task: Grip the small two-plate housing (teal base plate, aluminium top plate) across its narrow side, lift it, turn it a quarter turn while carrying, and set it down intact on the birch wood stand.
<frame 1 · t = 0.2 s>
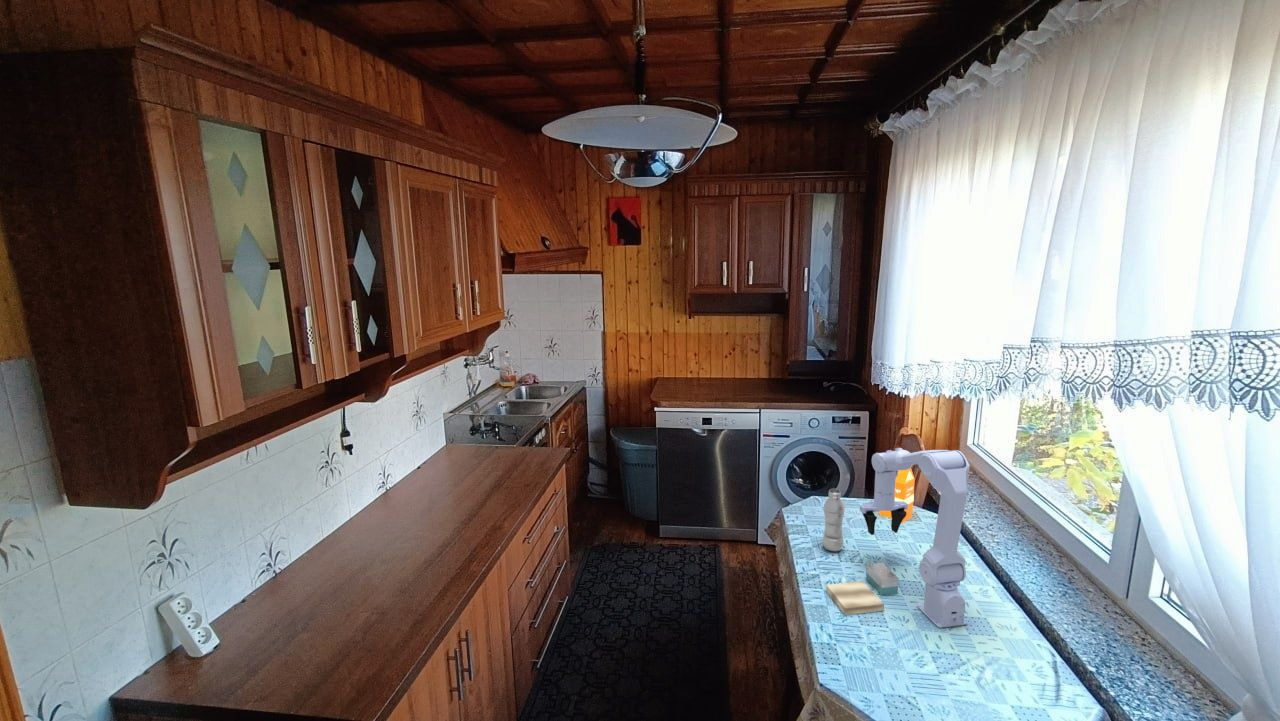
hand: (882, 532, 170), 10 cm above the table, tool pointing down, fingers open, 7 cm apart
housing: (881, 586, 160), on the table
orange juice: (895, 516, 202), on the table
stand: (854, 600, 154), on the table
plastic bottle: (832, 549, 181), on the table
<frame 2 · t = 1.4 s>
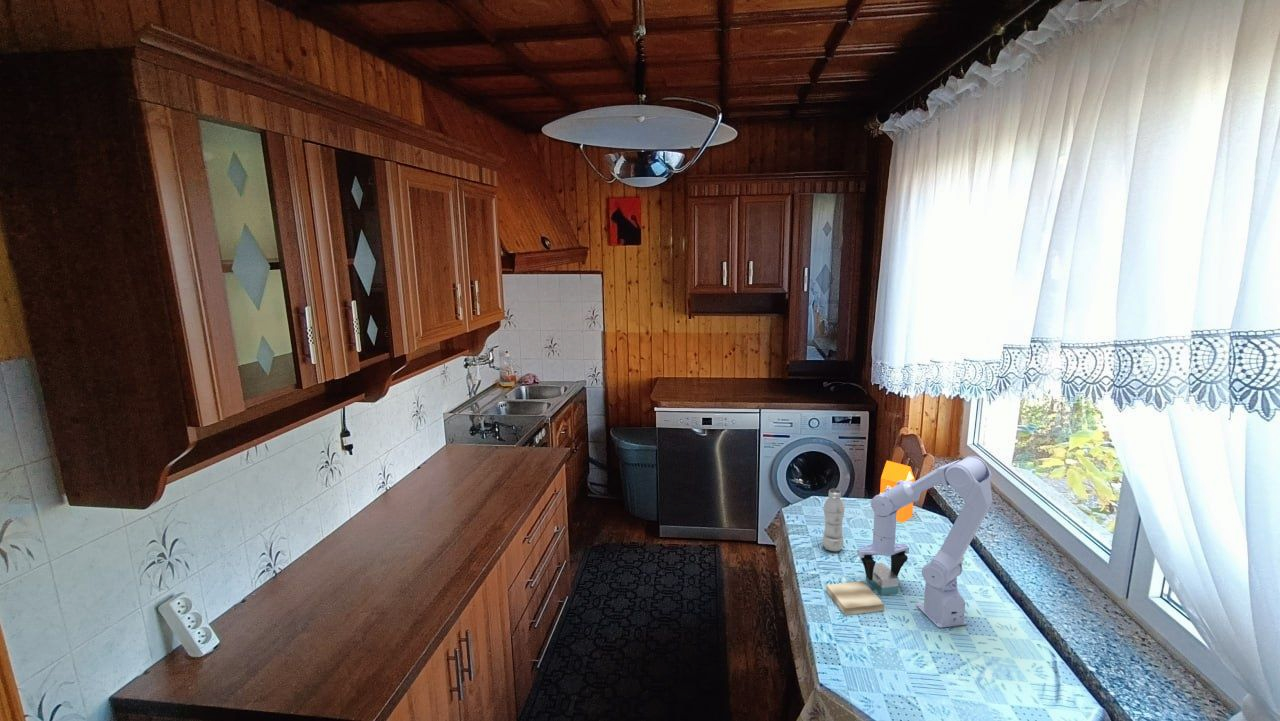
hand: (881, 577, 159), 3 cm above the table, tool pointing down, fingers open, 7 cm apart
nothing on the table moved.
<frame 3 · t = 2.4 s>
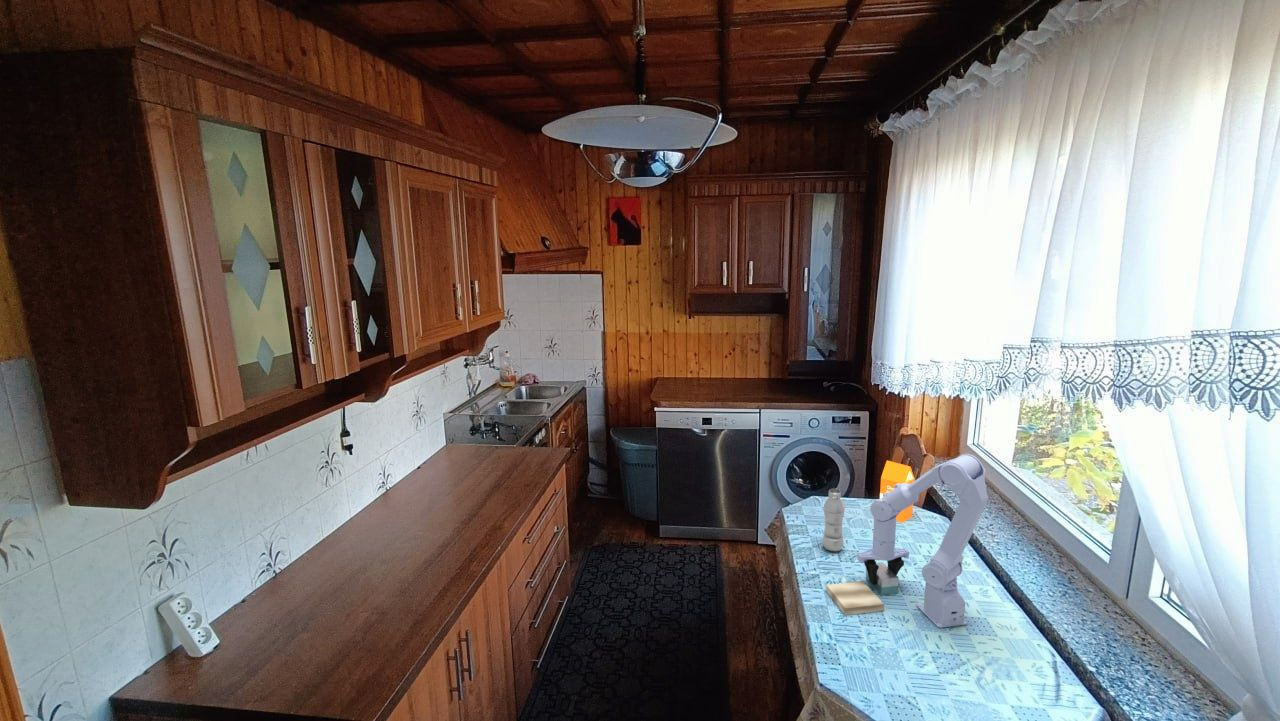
hand: (881, 581, 159), 1 cm above the table, tool pointing down, fingers closed on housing, 5 cm apart
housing: (881, 586, 160), on the table, touching gripper
everything else where it was.
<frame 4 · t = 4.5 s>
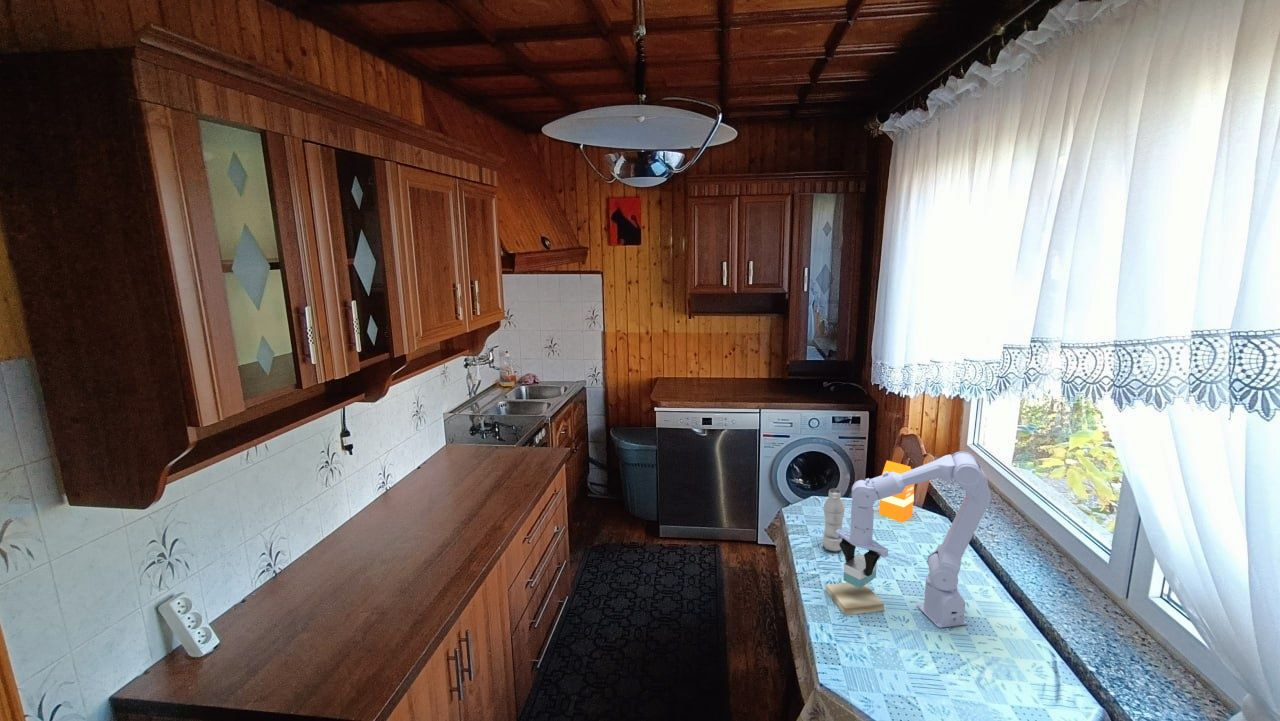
hand: (859, 570, 153), 8 cm above the table, tool pointing down, fingers closed on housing, 5 cm apart
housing: (859, 578, 154), point 6 cm above the table, touching gripper
everything else where it was.
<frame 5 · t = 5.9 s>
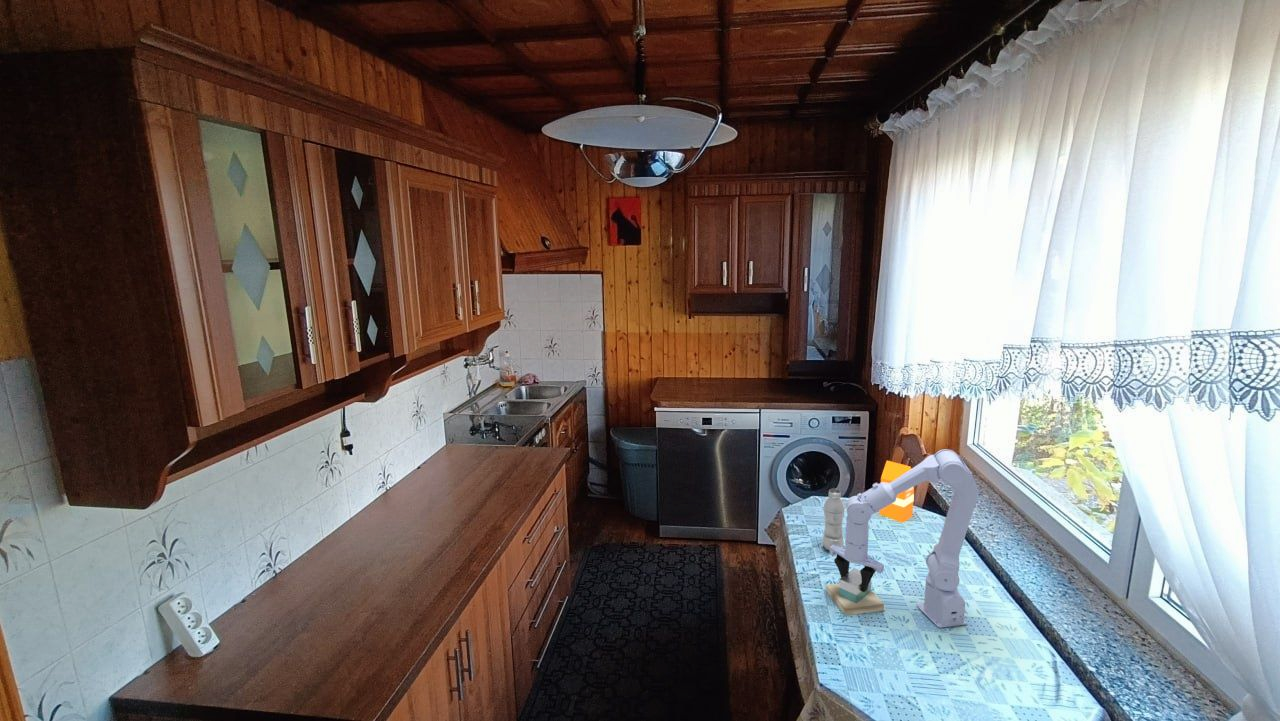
hand: (854, 586, 153), 4 cm above the table, tool pointing down, fingers closed on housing, 5 cm apart
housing: (854, 593, 153), point 2 cm above the table, touching gripper, stand
everything else where it was.
when the fingers open (4 cm above the table, at t = 6.5 s): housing stays where it is, resting on stand.
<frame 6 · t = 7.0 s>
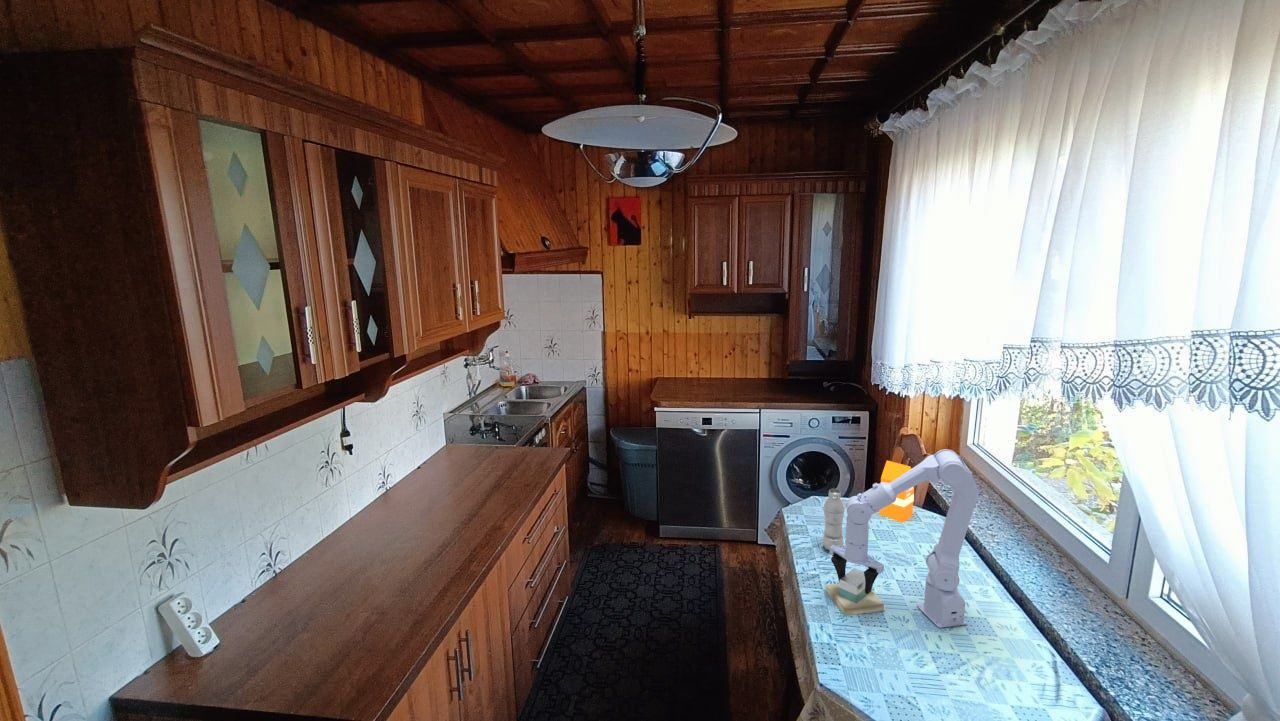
hand: (854, 586, 153), 4 cm above the table, tool pointing down, fingers open, 7 cm apart
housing: (854, 593, 153), point 2 cm above the table, touching stand
everything else where it was.
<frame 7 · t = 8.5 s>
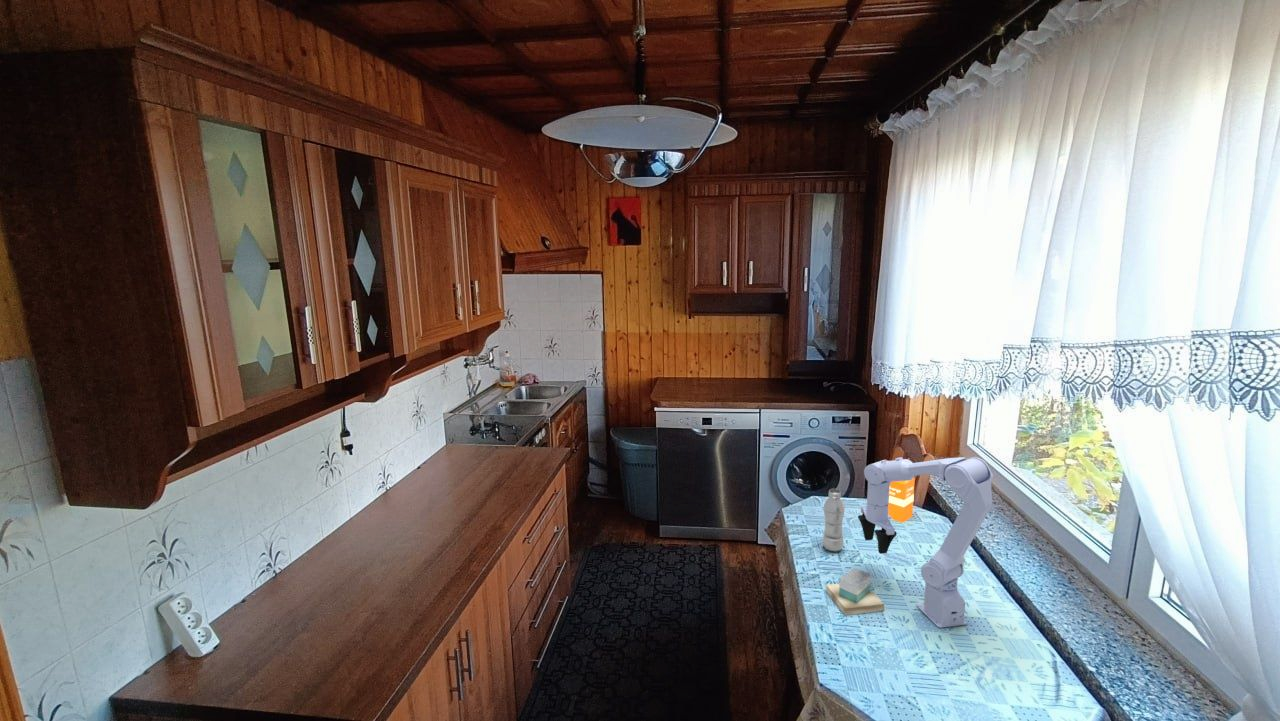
hand: (875, 546, 162), 10 cm above the table, tool pointing down, fingers open, 7 cm apart
nothing on the table moved.
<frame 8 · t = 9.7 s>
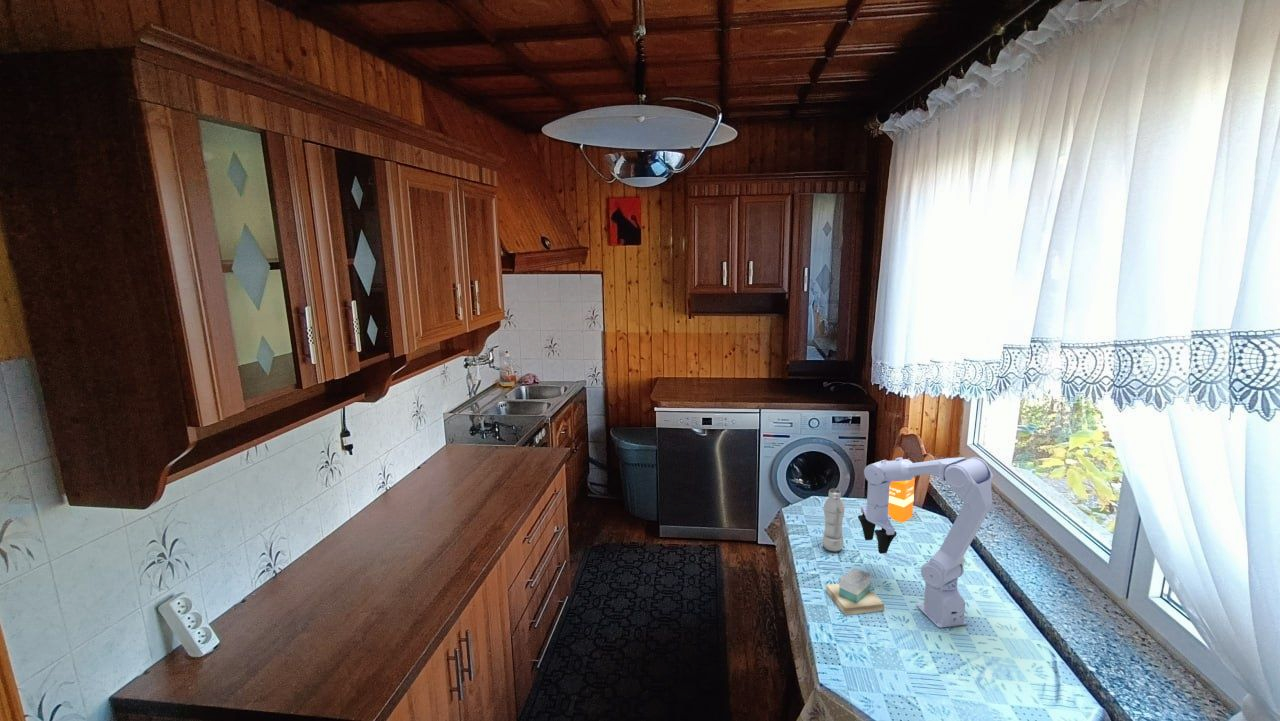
hand: (875, 546, 162), 10 cm above the table, tool pointing down, fingers open, 7 cm apart
nothing on the table moved.
at the end: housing inside the target area on the stand (0.4 cm from its centre), point 2.0 cm above the stand's base; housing tilted 0°; the gripper is holding nothing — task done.
